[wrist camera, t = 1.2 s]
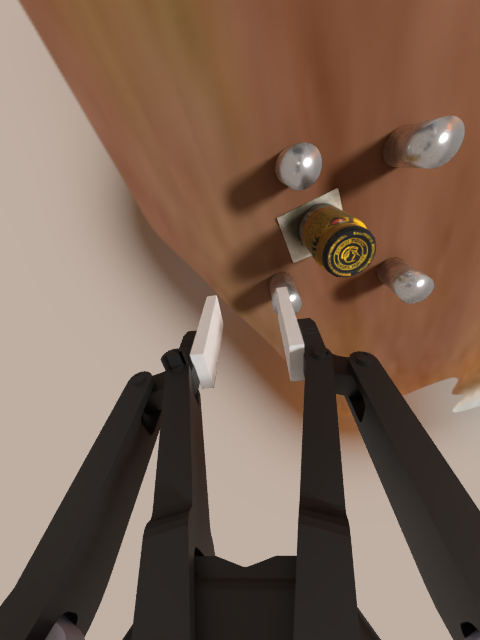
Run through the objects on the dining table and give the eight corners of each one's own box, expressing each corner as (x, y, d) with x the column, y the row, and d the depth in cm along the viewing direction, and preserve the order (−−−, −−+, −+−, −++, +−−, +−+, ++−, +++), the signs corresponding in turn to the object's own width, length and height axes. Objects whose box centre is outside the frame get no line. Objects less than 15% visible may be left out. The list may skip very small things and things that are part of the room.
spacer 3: (386, 129, 27) (423, 120, 21) (423, 122, 27) (471, 111, 21) (379, 169, 29) (412, 171, 23) (413, 163, 29) (455, 164, 23)
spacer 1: (273, 149, 28) (280, 146, 23) (307, 143, 28) (322, 139, 22) (275, 186, 31) (282, 192, 25) (306, 181, 30) (320, 186, 24)
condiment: (348, 238, 34) (390, 270, 24) (293, 262, 36) (310, 300, 26) (337, 187, 31) (380, 200, 21) (276, 217, 33) (289, 242, 23)
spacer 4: (379, 259, 36) (404, 278, 30) (406, 255, 35) (438, 274, 30) (374, 283, 38) (397, 305, 32) (400, 279, 37) (428, 301, 32)
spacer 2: (268, 273, 37) (271, 294, 32) (293, 270, 37) (301, 290, 31) (270, 295, 40) (273, 318, 34) (293, 292, 39) (301, 315, 33)
